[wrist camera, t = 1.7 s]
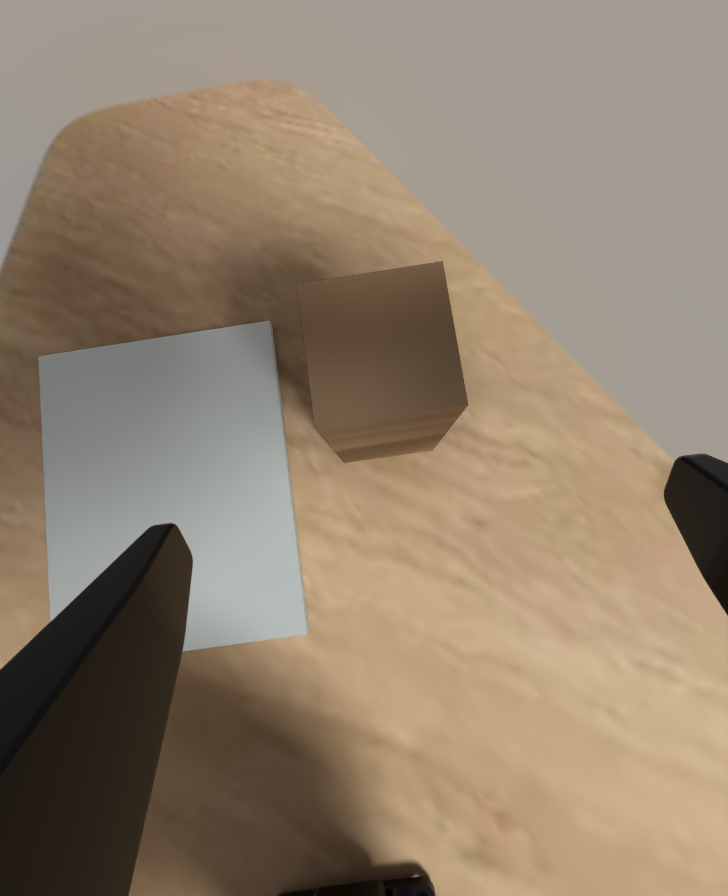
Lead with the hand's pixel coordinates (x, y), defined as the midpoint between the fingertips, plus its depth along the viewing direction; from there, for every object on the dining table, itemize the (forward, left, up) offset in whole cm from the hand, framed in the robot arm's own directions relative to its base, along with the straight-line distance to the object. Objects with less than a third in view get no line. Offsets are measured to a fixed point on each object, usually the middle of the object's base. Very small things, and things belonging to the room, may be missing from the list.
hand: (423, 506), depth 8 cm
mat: (+2, +10, -12) cm, 16 cm away
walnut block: (+4, 0, -12) cm, 13 cm away
